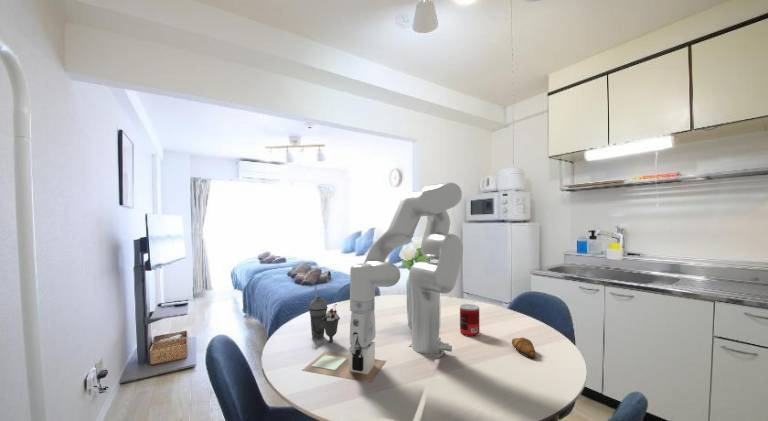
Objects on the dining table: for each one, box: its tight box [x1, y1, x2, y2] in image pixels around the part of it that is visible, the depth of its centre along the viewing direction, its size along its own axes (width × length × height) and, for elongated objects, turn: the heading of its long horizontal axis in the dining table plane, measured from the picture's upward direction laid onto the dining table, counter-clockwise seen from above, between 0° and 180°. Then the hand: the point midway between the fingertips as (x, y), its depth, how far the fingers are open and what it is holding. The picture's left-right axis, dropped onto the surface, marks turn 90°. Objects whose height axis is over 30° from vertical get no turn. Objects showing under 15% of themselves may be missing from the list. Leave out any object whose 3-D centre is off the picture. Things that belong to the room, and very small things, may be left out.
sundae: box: [322, 303, 341, 344], centre depth 112 cm, size 7×7×15 cm
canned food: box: [459, 303, 480, 337], centre depth 126 cm, size 8×8×11 cm
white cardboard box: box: [348, 341, 376, 374], centre depth 92 cm, size 6×6×7 cm
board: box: [301, 351, 387, 384], centre depth 94 cm, size 22×14×2 cm, turn 72°
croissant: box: [511, 337, 536, 359], centre depth 108 cm, size 14×7×5 cm, turn 4°
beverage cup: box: [308, 286, 328, 340], centre depth 121 cm, size 7×7×20 cm
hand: (362, 364), depth 92 cm, fingers closed on white cardboard box, 6 cm apart
